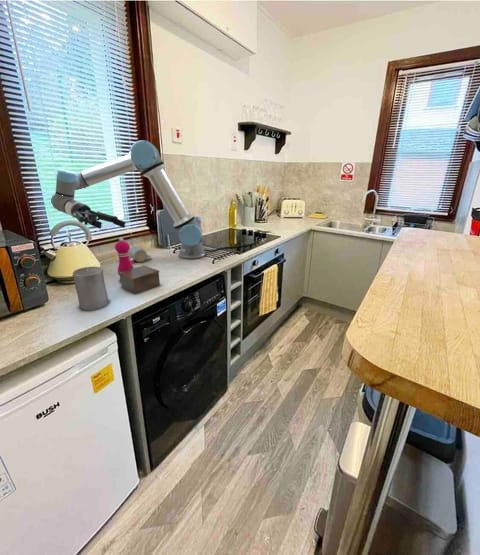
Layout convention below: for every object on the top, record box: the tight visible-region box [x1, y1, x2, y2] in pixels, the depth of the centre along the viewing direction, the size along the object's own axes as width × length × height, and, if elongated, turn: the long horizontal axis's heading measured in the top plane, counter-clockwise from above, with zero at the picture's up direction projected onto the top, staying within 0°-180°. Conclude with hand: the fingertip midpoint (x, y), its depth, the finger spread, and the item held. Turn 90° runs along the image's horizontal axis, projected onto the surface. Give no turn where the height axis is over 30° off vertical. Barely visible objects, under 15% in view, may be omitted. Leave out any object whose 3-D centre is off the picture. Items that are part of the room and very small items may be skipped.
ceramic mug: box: [129, 245, 152, 263], centre depth 153 cm, size 11×8×8 cm
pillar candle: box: [72, 266, 109, 311], centre depth 101 cm, size 10×10×15 cm
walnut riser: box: [119, 264, 161, 295], centre depth 119 cm, size 12×11×7 cm
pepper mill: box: [114, 237, 135, 282], centre depth 123 cm, size 7×7×20 cm
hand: (113, 225), depth 123 cm, fingers open, 13 cm apart
